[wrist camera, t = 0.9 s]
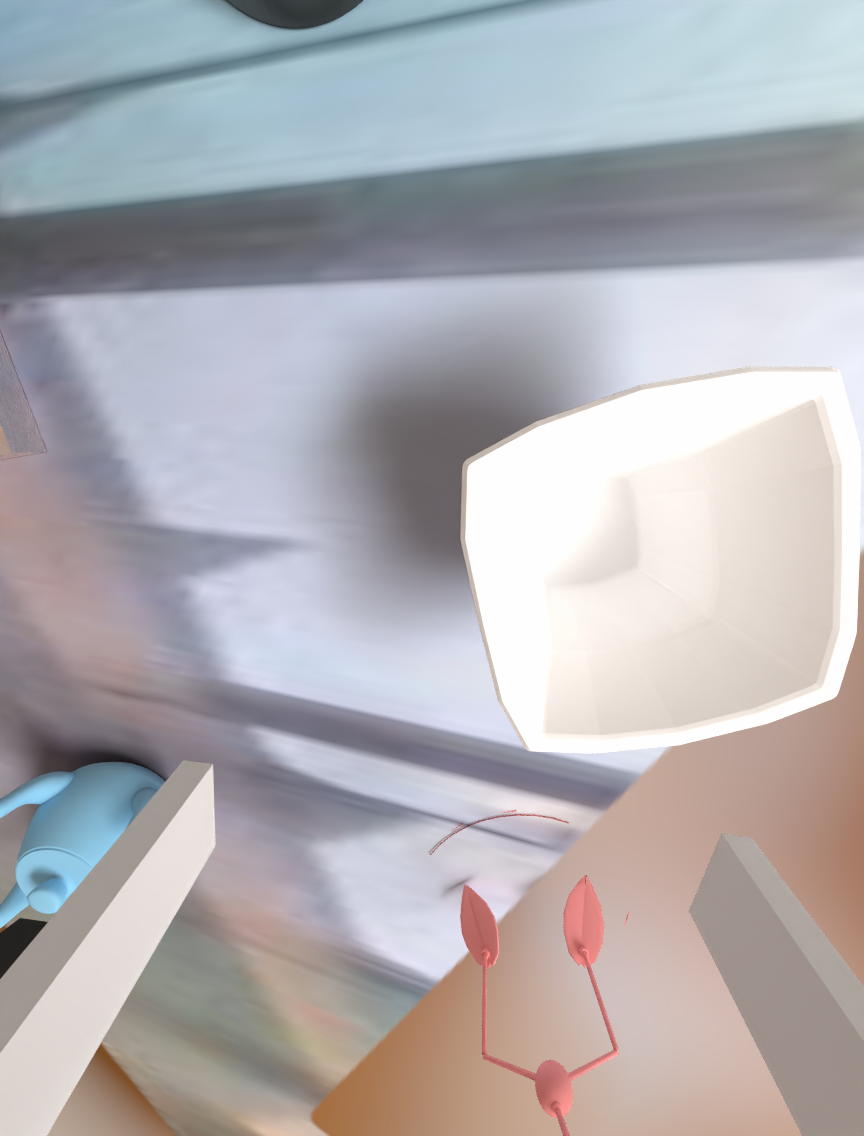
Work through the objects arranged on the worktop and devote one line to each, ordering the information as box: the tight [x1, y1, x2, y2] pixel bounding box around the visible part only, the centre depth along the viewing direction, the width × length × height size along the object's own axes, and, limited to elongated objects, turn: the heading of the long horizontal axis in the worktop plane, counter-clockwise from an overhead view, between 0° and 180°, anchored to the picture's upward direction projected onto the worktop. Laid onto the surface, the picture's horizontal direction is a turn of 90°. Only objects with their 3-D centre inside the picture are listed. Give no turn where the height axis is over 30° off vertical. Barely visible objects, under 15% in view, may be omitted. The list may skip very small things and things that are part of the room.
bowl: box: [460, 367, 860, 754], centre depth 28 cm, size 19×19×14 cm
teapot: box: [0, 762, 165, 928], centre depth 40 cm, size 15×15×10 cm
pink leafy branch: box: [430, 810, 629, 1136], centre depth 28 cm, size 15×26×35 cm, turn 96°
